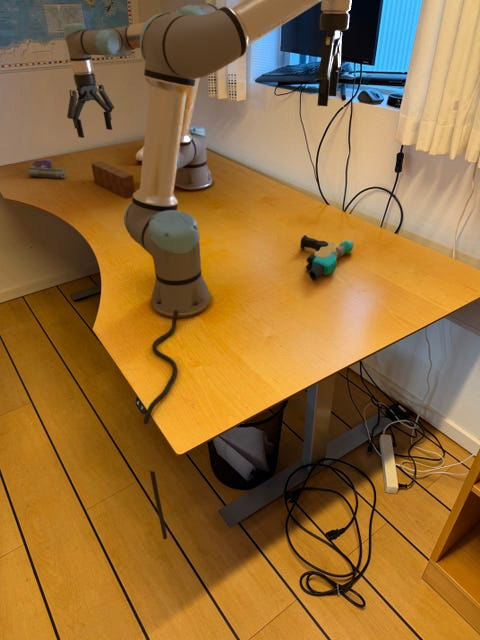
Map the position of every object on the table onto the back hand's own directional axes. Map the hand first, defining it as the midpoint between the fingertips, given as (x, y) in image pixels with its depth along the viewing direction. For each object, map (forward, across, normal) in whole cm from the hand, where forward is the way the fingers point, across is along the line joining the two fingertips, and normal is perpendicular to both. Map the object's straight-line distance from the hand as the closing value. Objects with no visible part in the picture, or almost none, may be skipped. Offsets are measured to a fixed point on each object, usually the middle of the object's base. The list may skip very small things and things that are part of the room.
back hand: (95, 133), depth 187 cm
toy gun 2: (+22, +5, +105) cm, 108 cm away
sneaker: (+20, -37, -10) cm, 44 cm away
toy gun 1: (+20, +7, -29) cm, 36 cm away
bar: (+20, +2, +8) cm, 22 cm away
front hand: (-18, -14, +94) cm, 97 cm away
